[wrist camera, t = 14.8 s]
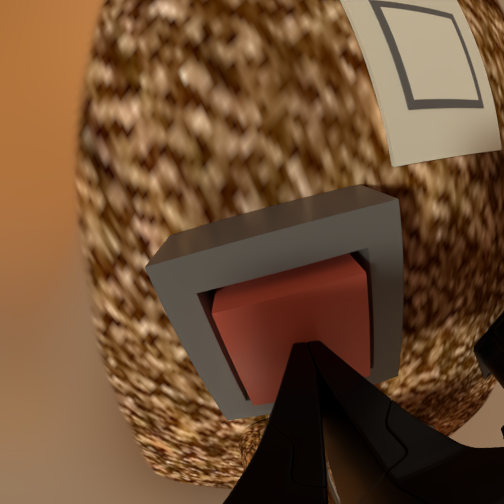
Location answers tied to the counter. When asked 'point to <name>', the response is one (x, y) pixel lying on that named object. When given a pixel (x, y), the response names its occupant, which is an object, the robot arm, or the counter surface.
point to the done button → (294, 320)
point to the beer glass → (250, 443)
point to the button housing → (277, 260)
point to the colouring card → (425, 78)
